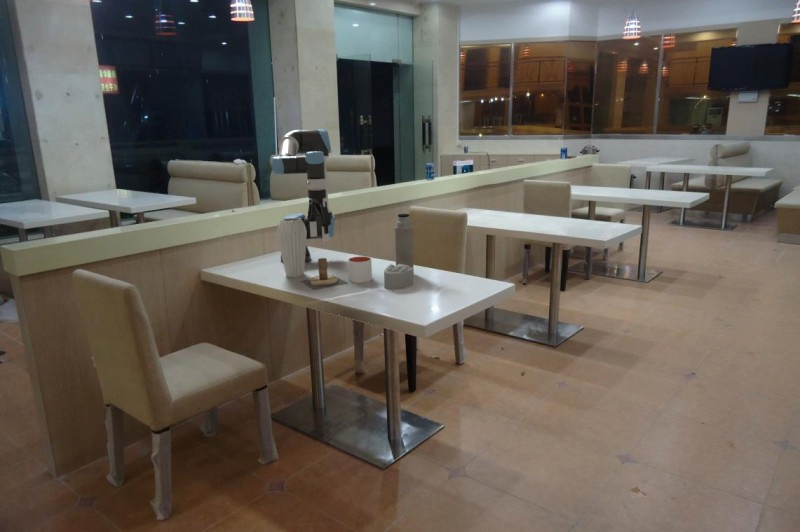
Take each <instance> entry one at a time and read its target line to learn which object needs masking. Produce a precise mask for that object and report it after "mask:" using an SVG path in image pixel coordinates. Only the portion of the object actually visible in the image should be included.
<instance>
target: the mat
mask: <svg viewBox="0 0 800 532" xmlns="http://www.w3.org/2000/svg"><path fill="white" fill-rule="evenodd" d="M332 276H335V275H334V274H333V275H332ZM310 279H311V278H309V279H304V280H299V282H300V283H302V284H304V286H307V287H308V288H310V289H311V290H313V291H315V290H316V291H317V290H322V289H326V288H333V287H337V286H344V285H348V284H349V283H348V282H347V281H345V280H342V279H341V278H338V277H337V280H338V282H337V283H336V284H333V285H330V286H313V285H311V284H310Z"/></svg>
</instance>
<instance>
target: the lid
mask: <svg viewBox="0 0 800 532" xmlns="http://www.w3.org/2000/svg"><path fill="white" fill-rule="evenodd" d="M327 262H328V260H327V257H320V258H318V260H317V263H318V275H316V276H313V277H310V278H309V279H310V284H311V285H313V286H330V285H333V284H336V283H337V282H338V280H337V278H338V276H336V275H334V276H332V275H331V274H328V263H327Z"/></svg>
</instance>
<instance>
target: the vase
mask: <svg viewBox="0 0 800 532" xmlns="http://www.w3.org/2000/svg"><path fill="white" fill-rule="evenodd" d="M276 235H277V241H278V245H279V249H280V256H281V255H282V259H283V262H282V264H283V268H284V272H285V276H286V277H288V278H298V277H299V278H300V277H302V276H304V275H305V266H306V262H305V253H306V245H307V239H306V237H307V230H306V227H305V224H304V223H303V221H302V220H301V219H300V218H287V219H282V218H281V220H280V221H279V224H278V225H277V231H276Z"/></svg>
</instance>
